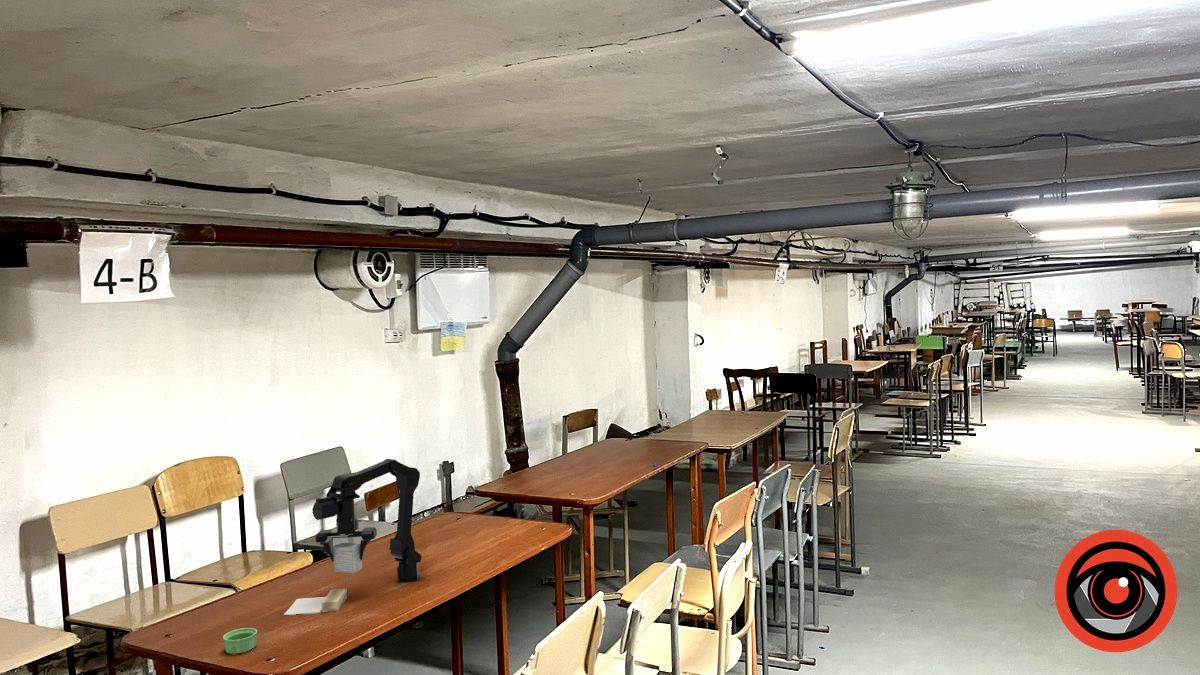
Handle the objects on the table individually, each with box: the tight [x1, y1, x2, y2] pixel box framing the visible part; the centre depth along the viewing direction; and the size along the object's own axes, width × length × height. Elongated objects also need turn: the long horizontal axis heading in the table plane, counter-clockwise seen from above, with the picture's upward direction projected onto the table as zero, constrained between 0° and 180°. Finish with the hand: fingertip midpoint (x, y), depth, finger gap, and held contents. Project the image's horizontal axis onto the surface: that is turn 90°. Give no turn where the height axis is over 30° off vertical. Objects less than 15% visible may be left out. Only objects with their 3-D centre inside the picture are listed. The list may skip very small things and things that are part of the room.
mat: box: [283, 596, 326, 616], centre depth 261 cm, size 11×14×1 cm
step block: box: [321, 588, 348, 613], centre depth 261 cm, size 5×12×3 cm, turn 4°
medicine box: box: [333, 542, 363, 574], centre depth 265 cm, size 8×4×9 cm, turn 72°
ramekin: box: [222, 627, 258, 655], centre depth 229 cm, size 9×9×4 cm
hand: (347, 560), depth 265 cm, fingers closed on medicine box, 9 cm apart
